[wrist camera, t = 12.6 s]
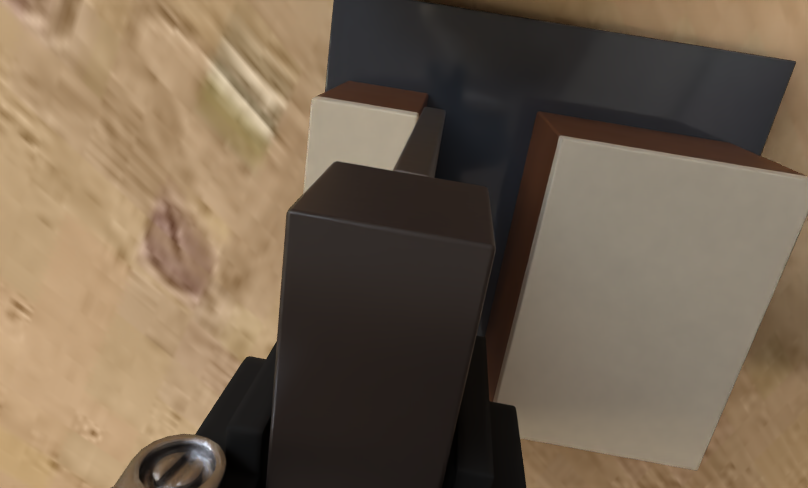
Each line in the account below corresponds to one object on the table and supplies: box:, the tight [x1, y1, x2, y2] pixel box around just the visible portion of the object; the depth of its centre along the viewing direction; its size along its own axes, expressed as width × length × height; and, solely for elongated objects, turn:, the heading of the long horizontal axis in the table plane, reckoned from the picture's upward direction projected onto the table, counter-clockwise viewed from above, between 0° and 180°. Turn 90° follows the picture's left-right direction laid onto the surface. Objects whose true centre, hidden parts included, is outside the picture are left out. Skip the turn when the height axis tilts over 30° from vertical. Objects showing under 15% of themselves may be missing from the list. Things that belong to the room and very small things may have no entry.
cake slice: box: [303, 81, 428, 194], centre depth 20 cm, size 10×3×6 cm, turn 171°
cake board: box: [325, 0, 796, 337], centre depth 23 cm, size 16×16×1 cm
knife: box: [266, 107, 496, 488], centre depth 13 cm, size 10×2×10 cm, turn 171°
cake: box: [485, 111, 808, 471], centre depth 20 cm, size 10×7×6 cm
